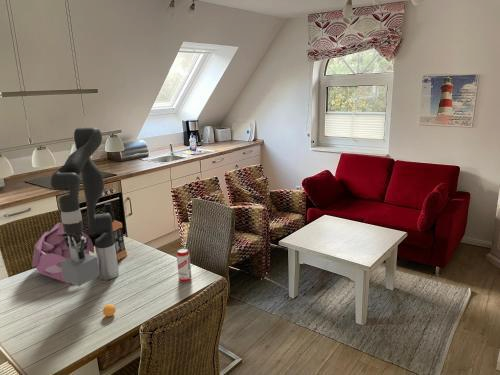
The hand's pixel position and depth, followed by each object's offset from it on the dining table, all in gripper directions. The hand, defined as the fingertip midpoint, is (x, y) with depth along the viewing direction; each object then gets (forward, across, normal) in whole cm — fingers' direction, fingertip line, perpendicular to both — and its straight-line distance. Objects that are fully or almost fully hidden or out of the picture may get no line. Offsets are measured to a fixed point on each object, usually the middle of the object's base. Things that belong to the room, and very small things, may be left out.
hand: (78, 257), depth 162 cm
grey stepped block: (+10, 0, 0) cm, 10 cm away
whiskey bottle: (+25, -28, +40) cm, 54 cm away
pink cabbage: (+25, -37, +16) cm, 47 cm away
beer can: (+24, +24, +38) cm, 51 cm away
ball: (+21, +15, 0) cm, 26 cm away
